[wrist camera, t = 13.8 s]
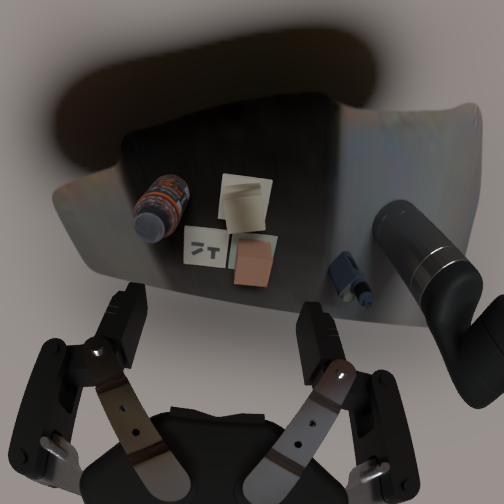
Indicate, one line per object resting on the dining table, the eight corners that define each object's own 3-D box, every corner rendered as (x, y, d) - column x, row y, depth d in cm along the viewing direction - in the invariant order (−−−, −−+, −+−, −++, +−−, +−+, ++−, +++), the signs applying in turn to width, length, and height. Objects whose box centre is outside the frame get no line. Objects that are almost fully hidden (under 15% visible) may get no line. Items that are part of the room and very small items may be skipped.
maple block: (259, 182, 39) (261, 195, 35) (263, 213, 41) (265, 230, 37) (224, 186, 39) (222, 199, 35) (229, 217, 42) (228, 234, 38)
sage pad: (277, 236, 44) (277, 237, 44) (269, 271, 48) (269, 272, 48) (232, 230, 43) (232, 232, 43) (228, 267, 47) (228, 268, 47)
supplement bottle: (194, 177, 38) (177, 210, 29) (187, 213, 42) (171, 255, 32) (154, 169, 37) (126, 200, 28) (150, 206, 41) (124, 245, 31)
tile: (272, 179, 39) (272, 180, 39) (263, 222, 43) (264, 224, 42) (223, 173, 38) (222, 174, 38) (218, 217, 42) (217, 218, 42)
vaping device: (354, 254, 47) (379, 302, 37) (335, 275, 49) (354, 324, 39) (345, 247, 46) (369, 295, 36) (325, 269, 48) (343, 319, 38)
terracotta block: (270, 241, 44) (273, 260, 40) (264, 267, 47) (266, 286, 43) (238, 238, 44) (238, 256, 40) (234, 264, 46) (234, 283, 42)
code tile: (229, 230, 43) (229, 231, 43) (225, 266, 47) (225, 268, 47) (185, 225, 43) (184, 226, 42) (184, 262, 46) (183, 263, 46)
